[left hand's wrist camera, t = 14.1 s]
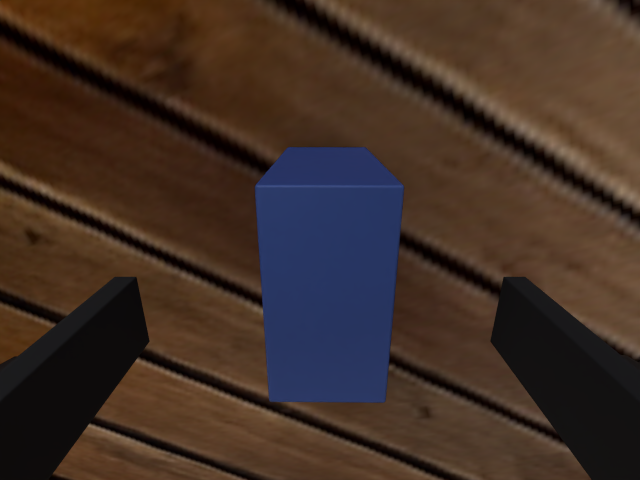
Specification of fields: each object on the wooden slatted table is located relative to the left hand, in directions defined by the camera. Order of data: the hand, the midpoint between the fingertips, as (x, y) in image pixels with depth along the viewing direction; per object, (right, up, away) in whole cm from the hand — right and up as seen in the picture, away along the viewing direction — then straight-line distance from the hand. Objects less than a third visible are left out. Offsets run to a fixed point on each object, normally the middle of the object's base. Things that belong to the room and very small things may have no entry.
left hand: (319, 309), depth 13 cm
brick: (0, +4, +10) cm, 10 cm away
